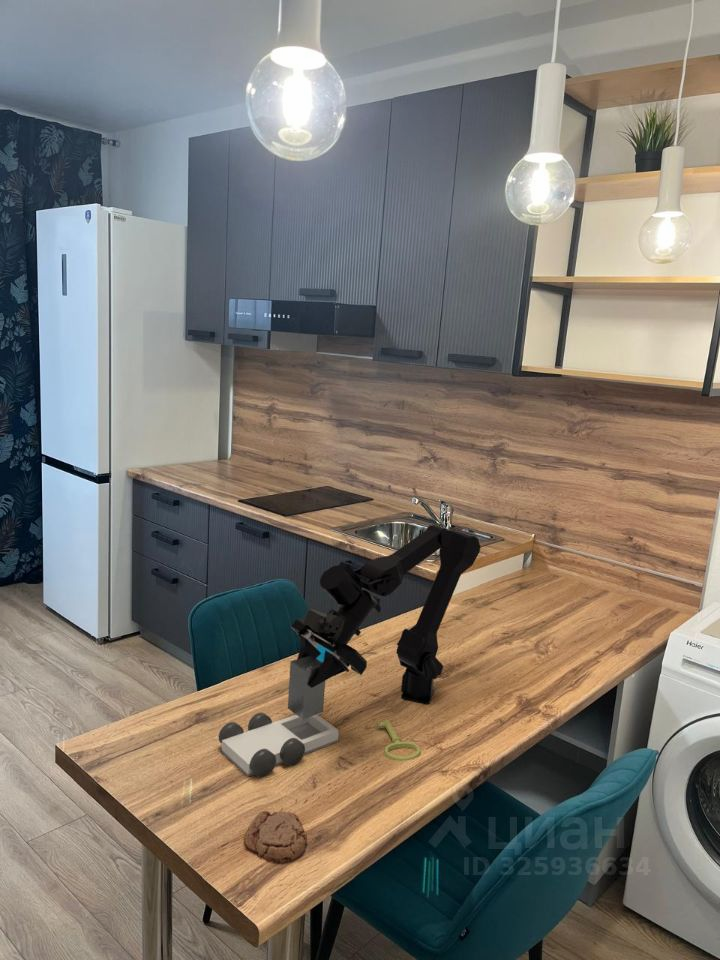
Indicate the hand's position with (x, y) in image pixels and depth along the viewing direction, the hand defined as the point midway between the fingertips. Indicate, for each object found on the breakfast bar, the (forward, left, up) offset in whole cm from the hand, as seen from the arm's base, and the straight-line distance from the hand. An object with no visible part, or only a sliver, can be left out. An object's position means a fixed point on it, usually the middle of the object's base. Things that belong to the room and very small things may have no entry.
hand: (301, 680), depth 142 cm
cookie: (-7, +28, -13) cm, 32 cm away
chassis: (+2, +4, -12) cm, 13 cm away
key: (-18, -6, -13) cm, 24 cm away
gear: (+5, -31, -13) cm, 34 cm away
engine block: (-1, -1, -7) cm, 7 cm away
